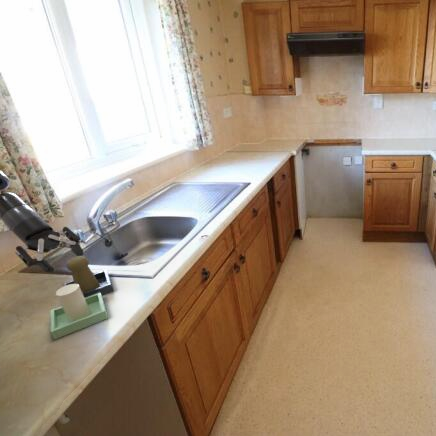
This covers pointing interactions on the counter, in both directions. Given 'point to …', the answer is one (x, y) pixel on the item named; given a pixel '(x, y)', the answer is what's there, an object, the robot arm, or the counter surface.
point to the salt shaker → (73, 302)
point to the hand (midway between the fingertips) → (67, 263)
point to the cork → (82, 273)
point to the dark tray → (103, 281)
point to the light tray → (64, 327)
